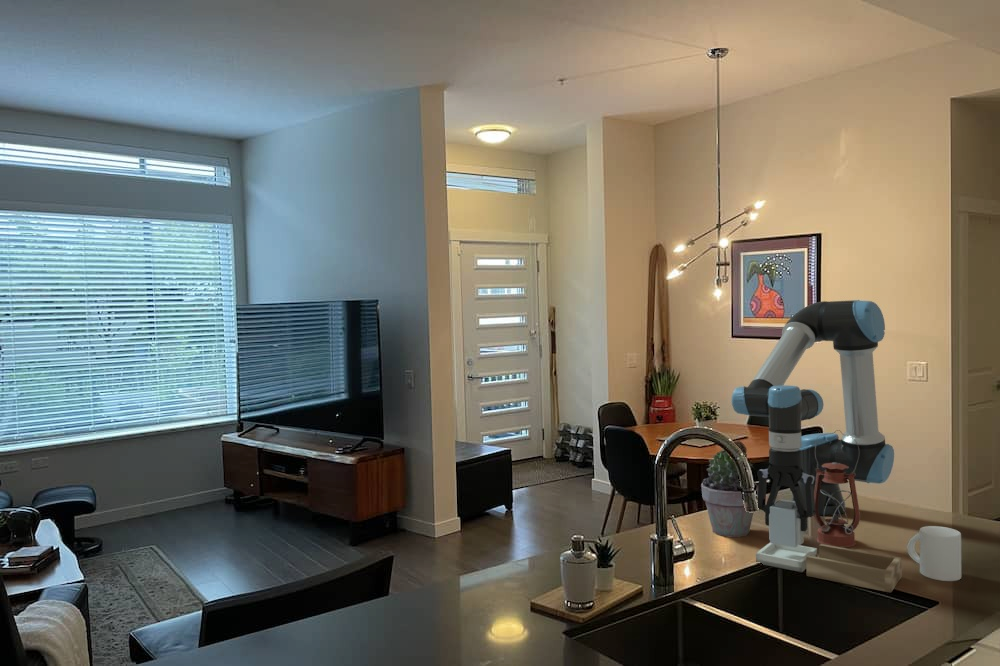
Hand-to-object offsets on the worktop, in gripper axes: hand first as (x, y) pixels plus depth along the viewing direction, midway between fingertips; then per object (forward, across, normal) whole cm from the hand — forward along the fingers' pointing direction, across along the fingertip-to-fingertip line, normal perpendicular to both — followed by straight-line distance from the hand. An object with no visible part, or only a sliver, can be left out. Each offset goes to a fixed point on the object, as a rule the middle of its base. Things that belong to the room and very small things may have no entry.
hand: (786, 540), depth 183 cm
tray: (+5, 0, 0) cm, 5 cm away
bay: (+5, +16, -2) cm, 17 cm away
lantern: (+5, +6, +22) cm, 23 cm away
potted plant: (+5, -20, +14) cm, 25 cm away
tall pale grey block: (0, 0, 0) cm, 0 cm away
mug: (+5, +30, +11) cm, 32 cm away
